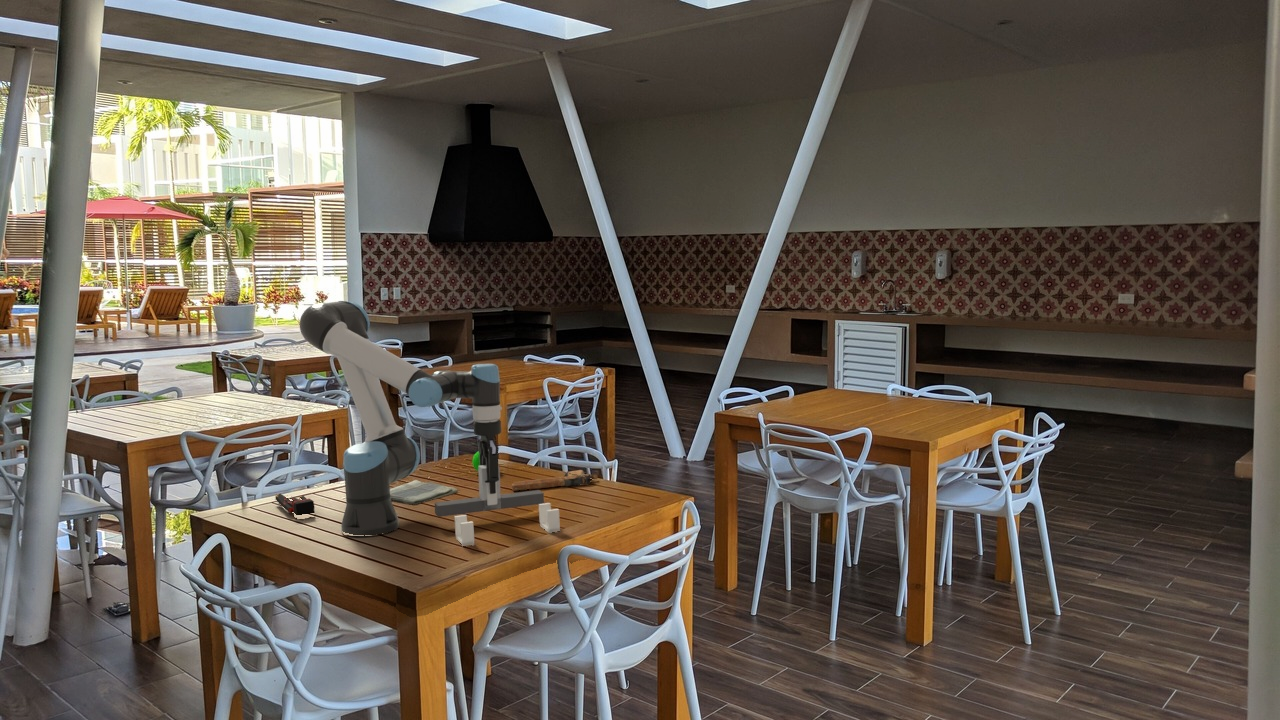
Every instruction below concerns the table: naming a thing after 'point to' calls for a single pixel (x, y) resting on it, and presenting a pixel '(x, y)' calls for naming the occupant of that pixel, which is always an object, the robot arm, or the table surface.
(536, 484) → the decorative handgun
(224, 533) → the table surface
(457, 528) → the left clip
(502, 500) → the bar
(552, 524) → the right clip
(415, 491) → the dish towel
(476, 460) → the ornament
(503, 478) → the table surface
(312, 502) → the toy
